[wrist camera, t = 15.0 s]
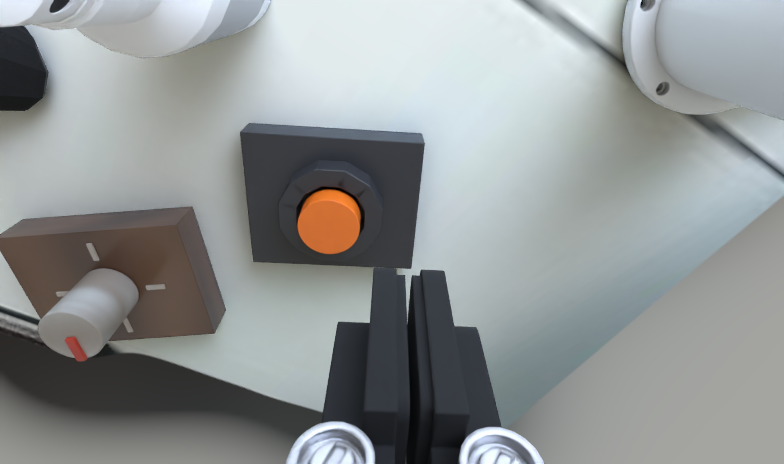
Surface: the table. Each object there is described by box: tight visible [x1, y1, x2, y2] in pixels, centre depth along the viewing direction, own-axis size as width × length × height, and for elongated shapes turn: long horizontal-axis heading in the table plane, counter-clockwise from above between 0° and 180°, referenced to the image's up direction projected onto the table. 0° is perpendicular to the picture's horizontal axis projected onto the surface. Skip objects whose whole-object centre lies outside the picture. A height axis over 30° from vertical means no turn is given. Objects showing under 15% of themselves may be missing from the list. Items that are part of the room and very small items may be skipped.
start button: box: [297, 189, 361, 254], centre depth 29 cm, size 4×4×2 cm
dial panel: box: [0, 207, 226, 341], centre depth 34 cm, size 13×10×3 cm
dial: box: [38, 268, 139, 361], centre depth 31 cm, size 4×4×5 cm
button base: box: [240, 123, 425, 269], centre depth 31 cm, size 12×10×4 cm
